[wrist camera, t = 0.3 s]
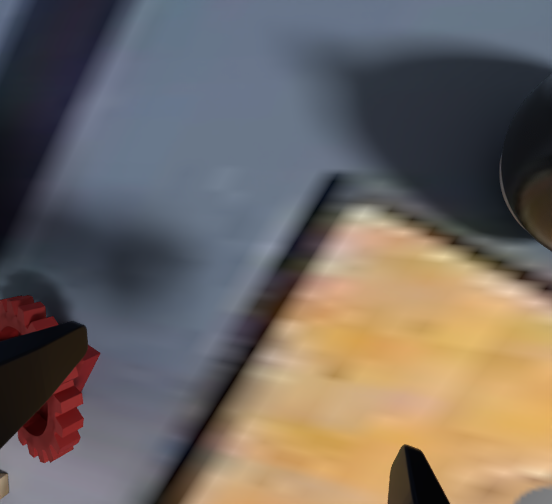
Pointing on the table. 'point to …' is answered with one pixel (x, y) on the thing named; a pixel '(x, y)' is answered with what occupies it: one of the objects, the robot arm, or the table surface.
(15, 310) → the red cog wheel
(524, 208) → the dark grey rounded cone
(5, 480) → the carrier
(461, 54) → the table surface
